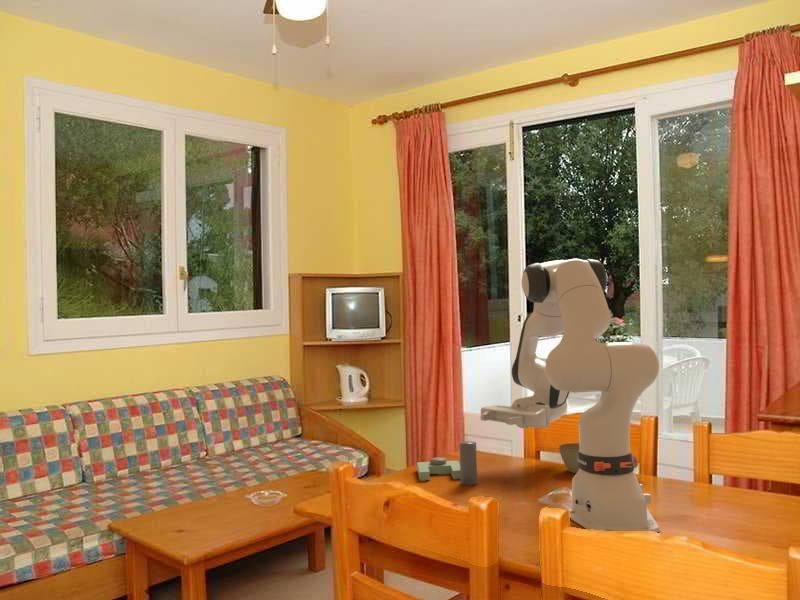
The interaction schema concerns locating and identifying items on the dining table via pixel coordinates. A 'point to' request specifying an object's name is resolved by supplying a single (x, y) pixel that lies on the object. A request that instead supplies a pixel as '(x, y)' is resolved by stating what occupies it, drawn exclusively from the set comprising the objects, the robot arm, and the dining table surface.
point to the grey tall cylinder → (468, 463)
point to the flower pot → (570, 456)
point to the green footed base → (438, 468)
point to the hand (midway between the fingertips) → (495, 419)
